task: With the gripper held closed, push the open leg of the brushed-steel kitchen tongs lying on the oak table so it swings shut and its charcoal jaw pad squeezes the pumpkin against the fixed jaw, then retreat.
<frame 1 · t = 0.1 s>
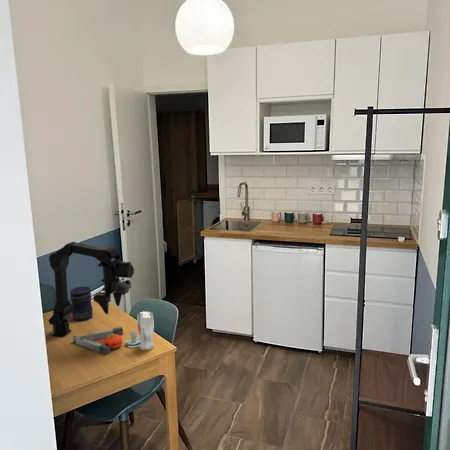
hand: (112, 309, 182), 15 cm above the table, fingers open, 9 cm apart
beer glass: (147, 347, 178), on the table, touching pacifier
tong leg: (101, 334, 188), point 1 cm above the table, hinge at 24.0°
pumpkin: (113, 347, 179), on the table
storage jar: (82, 318, 210), on the table
pacifier: (134, 345, 181), on the table, touching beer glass
tong base: (75, 342, 184), on the table
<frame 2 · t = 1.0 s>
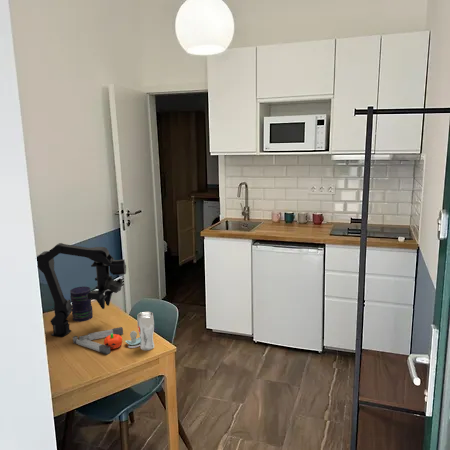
hand: (105, 307, 192), 12 cm above the table, fingers open, 4 cm apart
nothing on the table moved.
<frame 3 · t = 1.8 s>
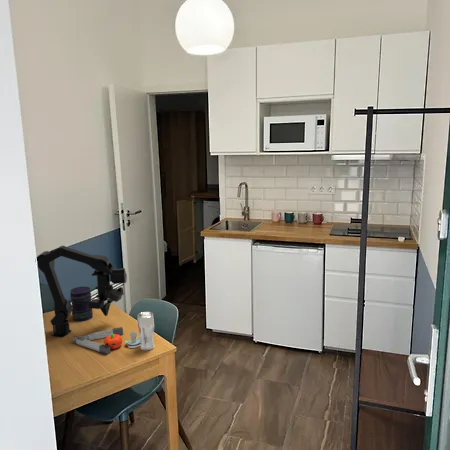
hand: (106, 315, 193), 8 cm above the table, fingers closed
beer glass: (147, 347, 178), on the table
pacifier: (134, 345, 180), on the table
everything else where it was.
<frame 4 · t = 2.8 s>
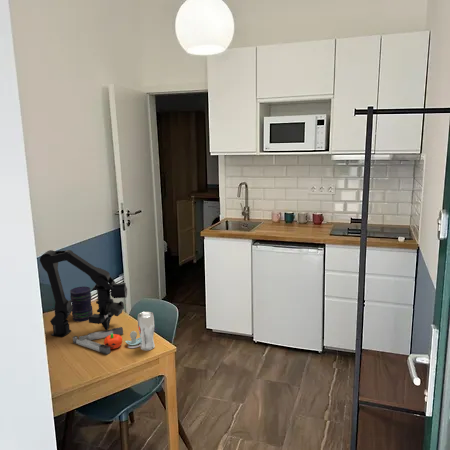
hand: (106, 329, 194), 1 cm above the table, fingers closed
nothing on the table moved.
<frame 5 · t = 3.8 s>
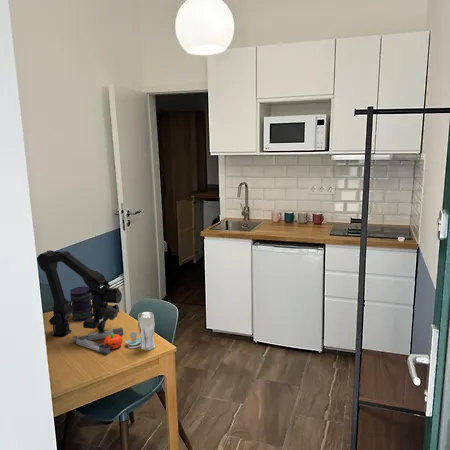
hand: (102, 333, 189), 1 cm above the table, fingers closed
tong leg: (101, 334, 187), point 1 cm above the table, hinge at 21.8°, touching gripper
everything else where it was.
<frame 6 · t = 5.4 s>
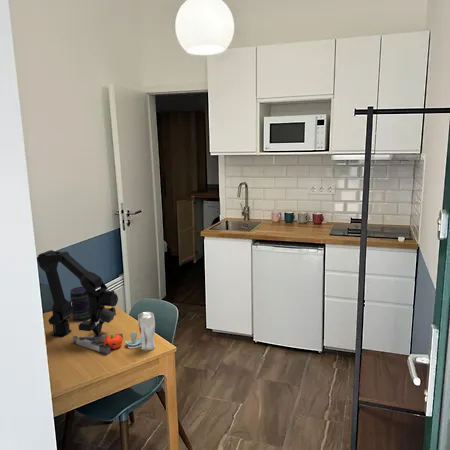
hand: (98, 336, 186), 1 cm above the table, fingers closed
tong leg: (100, 338, 184), point 1 cm above the table, hinge at 3.9°
everything else where it was.
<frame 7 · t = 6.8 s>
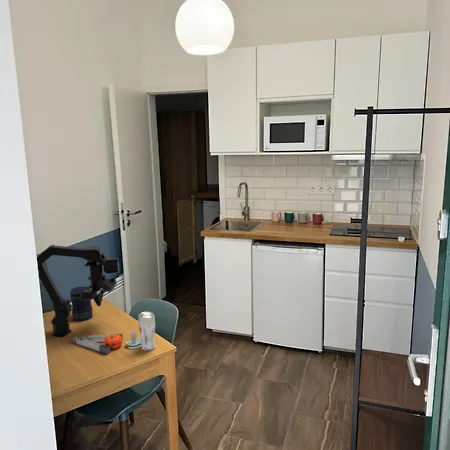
hand: (99, 306, 193), 12 cm above the table, fingers closed
nothing on the table moved.
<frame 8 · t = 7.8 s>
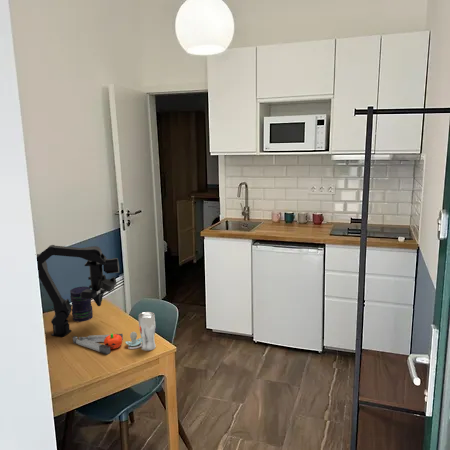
hand: (99, 305, 193), 12 cm above the table, fingers closed
nothing on the table moved.
at the end: tong leg at +4° (first picture: +24°); pumpkin inside the target area (0.8 cm from its centre), on the table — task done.
